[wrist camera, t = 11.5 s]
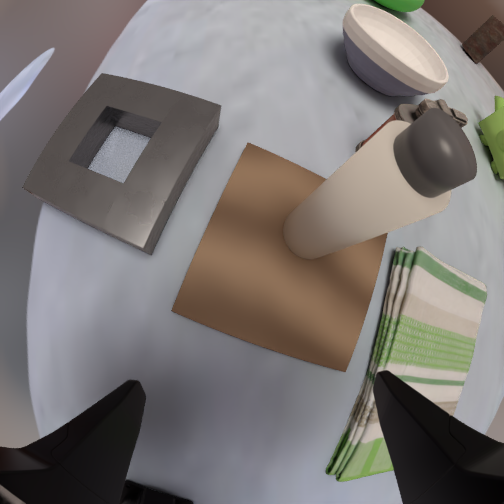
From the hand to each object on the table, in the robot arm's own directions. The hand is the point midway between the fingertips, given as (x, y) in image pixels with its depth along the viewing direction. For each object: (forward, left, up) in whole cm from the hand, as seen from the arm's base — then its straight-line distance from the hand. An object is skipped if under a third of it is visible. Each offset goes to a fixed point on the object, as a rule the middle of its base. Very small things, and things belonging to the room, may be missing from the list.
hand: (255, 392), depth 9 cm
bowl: (+36, -5, -11) cm, 38 cm away
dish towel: (+2, -20, -11) cm, 23 cm away
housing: (+10, +14, -10) cm, 20 cm away
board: (+8, -2, -10) cm, 13 cm away
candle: (+89, -37, -11) cm, 97 cm away
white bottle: (+10, -2, -9) cm, 14 cm away
